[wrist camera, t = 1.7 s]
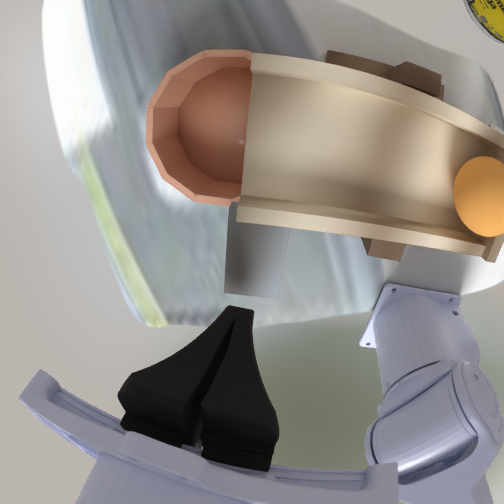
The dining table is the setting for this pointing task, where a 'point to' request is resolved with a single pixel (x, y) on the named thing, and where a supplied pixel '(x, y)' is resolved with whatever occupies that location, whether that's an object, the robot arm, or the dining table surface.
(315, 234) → the dining table surface
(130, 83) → the dining table surface
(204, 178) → the cup
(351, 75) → the beige curved piece
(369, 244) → the lever stand
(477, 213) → the ball
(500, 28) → the pill bottle
